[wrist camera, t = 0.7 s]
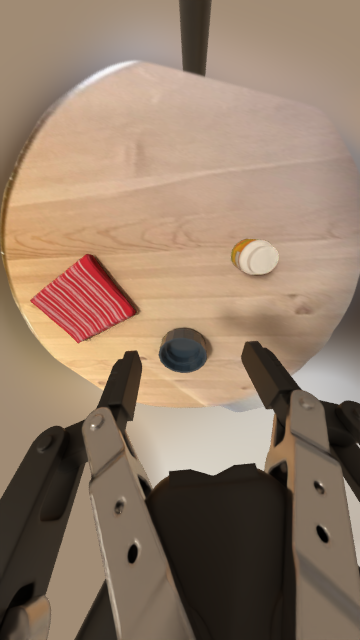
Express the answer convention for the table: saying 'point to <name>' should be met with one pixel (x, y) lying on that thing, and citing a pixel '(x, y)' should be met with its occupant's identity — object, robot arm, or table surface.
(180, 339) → the fruit bowl
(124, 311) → the dish towel
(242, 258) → the supplement bottle
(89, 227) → the table surface
